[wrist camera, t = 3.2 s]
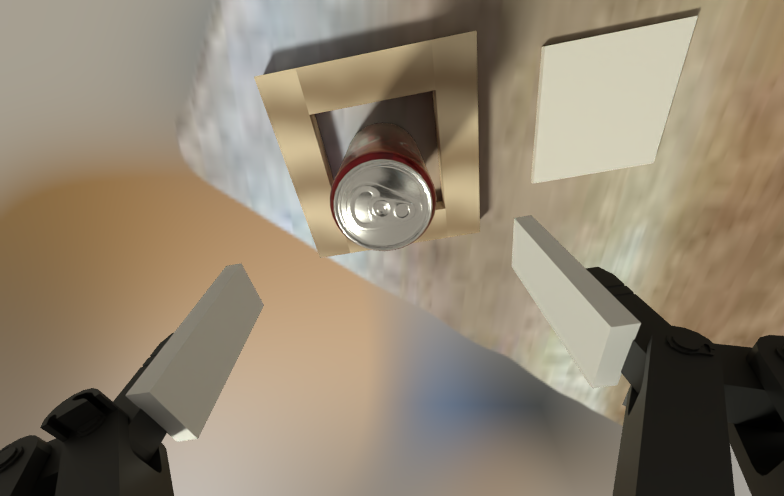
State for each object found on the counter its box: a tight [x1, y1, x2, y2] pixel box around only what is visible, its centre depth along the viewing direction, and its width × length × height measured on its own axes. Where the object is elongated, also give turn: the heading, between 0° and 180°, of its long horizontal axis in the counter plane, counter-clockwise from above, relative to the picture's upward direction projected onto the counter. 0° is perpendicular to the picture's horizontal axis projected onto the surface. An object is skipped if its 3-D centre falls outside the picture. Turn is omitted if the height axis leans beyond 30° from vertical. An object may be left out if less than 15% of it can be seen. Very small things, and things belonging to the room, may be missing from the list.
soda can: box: [330, 123, 436, 251], centre depth 25 cm, size 7×7×12 cm
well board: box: [254, 30, 480, 258], centre depth 29 cm, size 18×18×2 cm
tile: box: [531, 16, 698, 183], centre depth 27 cm, size 12×12×1 cm
